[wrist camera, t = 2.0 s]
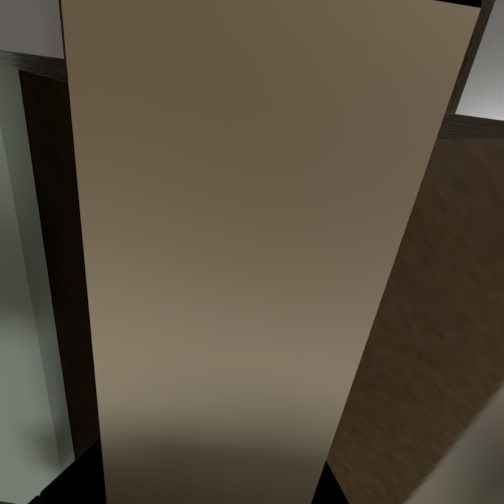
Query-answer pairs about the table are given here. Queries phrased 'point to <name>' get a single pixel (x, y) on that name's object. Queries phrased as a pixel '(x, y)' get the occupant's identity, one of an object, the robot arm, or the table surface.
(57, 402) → the sage board
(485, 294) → the table surface
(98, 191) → the birch rail
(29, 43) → the steel stands
